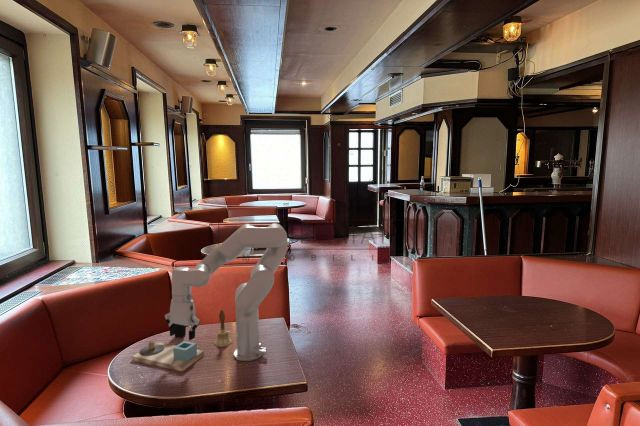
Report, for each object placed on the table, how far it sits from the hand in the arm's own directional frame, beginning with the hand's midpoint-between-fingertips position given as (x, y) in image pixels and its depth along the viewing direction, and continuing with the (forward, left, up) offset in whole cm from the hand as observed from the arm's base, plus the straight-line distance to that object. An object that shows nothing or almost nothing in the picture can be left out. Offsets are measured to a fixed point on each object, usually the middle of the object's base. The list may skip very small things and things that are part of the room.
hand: (182, 336), depth 156 cm
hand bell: (-6, -20, -11) cm, 24 cm away
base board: (+8, 0, -11) cm, 14 cm away
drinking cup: (+18, -19, -11) cm, 29 cm away
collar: (-1, 0, -9) cm, 9 cm away
